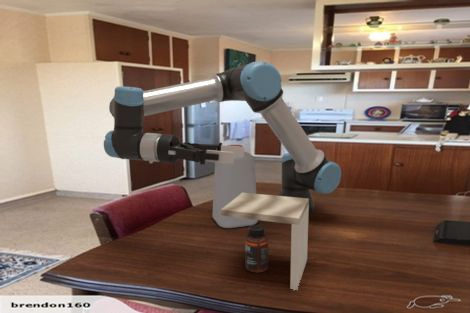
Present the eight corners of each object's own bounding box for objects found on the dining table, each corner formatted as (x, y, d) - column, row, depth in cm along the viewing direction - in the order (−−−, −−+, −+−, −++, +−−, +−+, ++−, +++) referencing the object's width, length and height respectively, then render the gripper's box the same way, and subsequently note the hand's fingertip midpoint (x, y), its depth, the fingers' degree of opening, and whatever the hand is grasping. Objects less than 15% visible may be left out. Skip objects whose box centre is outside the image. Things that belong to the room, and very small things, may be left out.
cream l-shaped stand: (222, 276, 82) (220, 209, 79) (242, 249, 96) (242, 192, 94) (297, 290, 75) (298, 218, 72) (307, 259, 90) (308, 198, 87)
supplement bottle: (270, 264, 88) (270, 224, 86) (265, 275, 82) (265, 233, 80) (249, 261, 90) (249, 221, 88) (242, 271, 84) (242, 230, 82)
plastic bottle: (210, 216, 125) (208, 144, 121) (247, 212, 130) (246, 142, 125) (220, 230, 111) (219, 149, 106) (261, 225, 116) (262, 147, 111)
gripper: (178, 156, 100) (246, 162, 95) (137, 169, 75) (226, 178, 71) (179, 132, 99) (248, 137, 94) (138, 136, 74) (228, 144, 70)
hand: (239, 154), depth 83 cm, fingers open, 13 cm apart
